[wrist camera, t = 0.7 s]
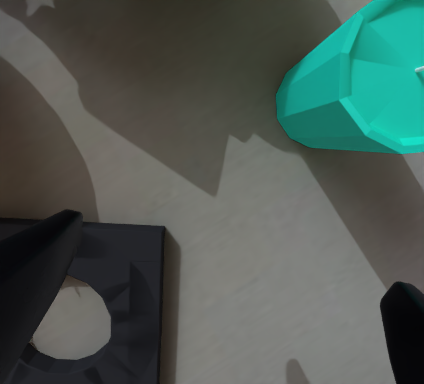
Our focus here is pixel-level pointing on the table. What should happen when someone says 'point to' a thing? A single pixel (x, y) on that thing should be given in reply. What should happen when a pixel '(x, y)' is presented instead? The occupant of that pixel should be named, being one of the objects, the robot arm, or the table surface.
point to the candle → (361, 84)
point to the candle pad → (109, 306)
